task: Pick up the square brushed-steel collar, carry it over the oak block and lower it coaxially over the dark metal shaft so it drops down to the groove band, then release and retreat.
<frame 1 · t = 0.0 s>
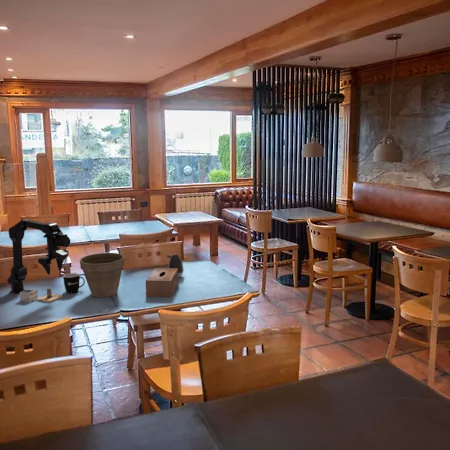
hand: (54, 272, 276), 15 cm above the table, tool pointing down, fingers open, 9 cm apart
pump dispenser: (175, 277, 316), on the table
shaft block: (49, 298, 275), on the table
tissue box cover: (162, 290, 290), on the table
plant pot: (104, 294, 283), on the table
mug: (75, 291, 288), on the table
collar: (29, 299, 274), on the table
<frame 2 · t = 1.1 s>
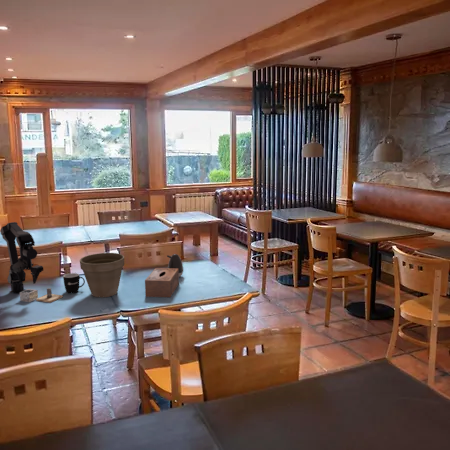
hand: (27, 282, 272), 10 cm above the table, tool pointing down, fingers open, 9 cm apart
nothing on the table moved.
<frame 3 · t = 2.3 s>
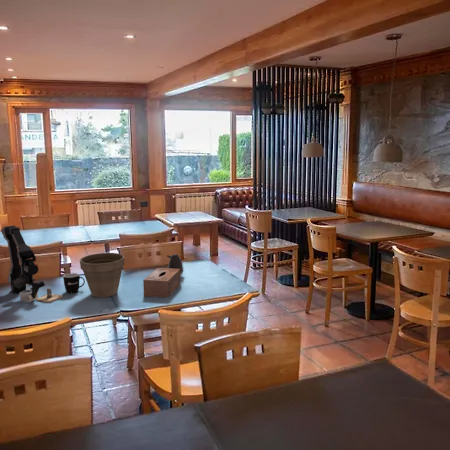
hand: (29, 297, 274), 1 cm above the table, tool pointing down, fingers closed on collar, 7 cm apart
collar: (29, 299, 274), on the table, touching gripper
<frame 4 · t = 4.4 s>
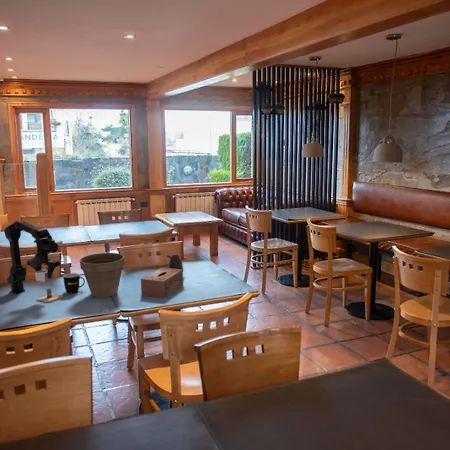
hand: (44, 278, 272), 12 cm above the table, tool pointing down, fingers closed on collar, 7 cm apart
collar: (44, 279, 272), point 11 cm above the table, touching gripper
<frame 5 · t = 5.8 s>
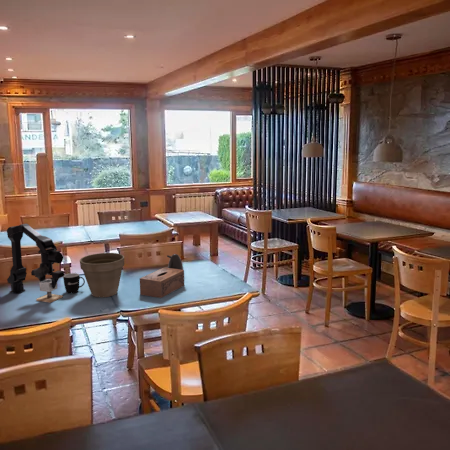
hand: (48, 287, 274), 6 cm above the table, tool pointing down, fingers closed on collar, 7 cm apart
collar: (48, 289, 274), point 5 cm above the table, touching gripper
when the fingers open (5 cm above the table, at t = 6.7 s): collar drops 3 cm, resting on shaft block.
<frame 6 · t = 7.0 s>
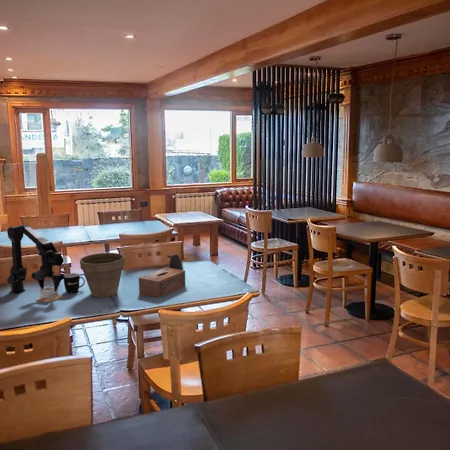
hand: (49, 290, 274), 5 cm above the table, tool pointing down, fingers open, 9 cm apart
collar: (49, 297, 275), point 1 cm above the table, touching shaft block
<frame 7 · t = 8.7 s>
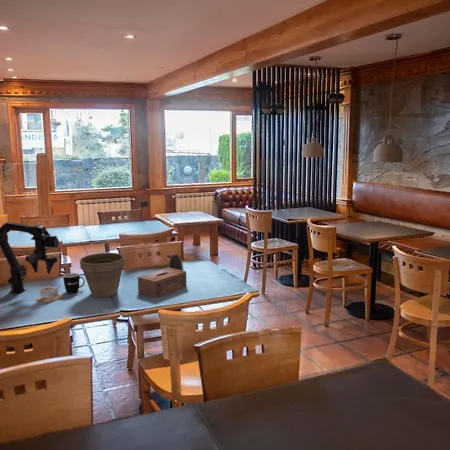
hand: (42, 273, 284), 12 cm above the table, tool pointing down, fingers open, 9 cm apart
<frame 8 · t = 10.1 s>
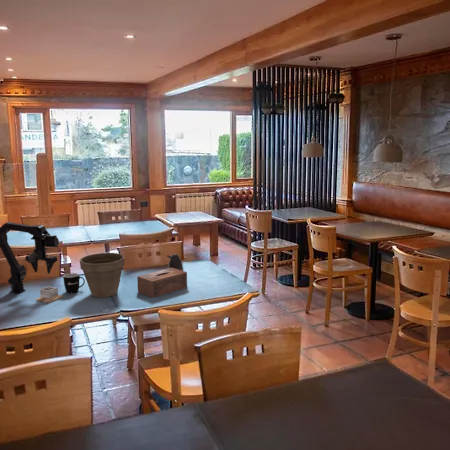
hand: (42, 272, 284), 12 cm above the table, tool pointing down, fingers open, 9 cm apart
at the end: collar 0.1 cm from the shaft block (horizontally); collar point 1.0 cm above the table; the gripper is holding nothing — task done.
